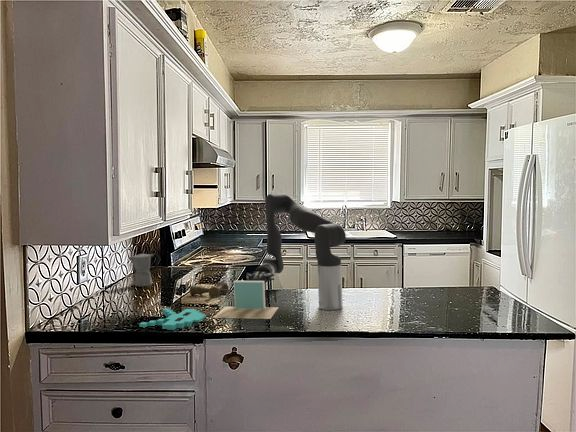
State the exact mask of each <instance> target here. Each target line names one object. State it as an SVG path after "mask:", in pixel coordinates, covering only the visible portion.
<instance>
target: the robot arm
mask: <svg viewBox="0 0 576 432" xmlns="http://www.w3.org/2000/svg"><path fill="white" fill-rule="evenodd" d="M264 201H265V202H264V204H265V206H264V209H265V210H264V211H265V221H266V222H265V223H266V232H267V234H266V236H267V237H266V253H267V255H270V256H272V257H264V258H263V259H262V263H261V264H260V265H259V266H257V267H256V269H255V271H254V272H253V273H248V272H247V273H246V281H264V283H265V284H266V283H268V282H271V281H274V280H275V274H281V273H282V272H283V270H284V266H285V265H284V260H283V259H284V258H283V255H282V240H283V239H282V234H281V232H280V230H279V228H278V226H277V224H276V220H275V214H282V213H283V214H289V220H290V222H291V223H292V225H294V226H296V227H297V228H298V229H300V230H302V231H305V232H308V233H314V247H315V258H316V260H317V287H318V293H317V294H318V308H319V309H321V310H324V311H336V310H342V309H343V281H342V259H341V257H340V256H339V255H335V254H333V253H332V251H331V250H332V249H331V248H336V247H339V246H342V245H343V244H344V243H345V241H346V237H347V235H346V232H345V229H344V228H343V227H342V226H341V225H340V224H338V223H337V222H334V221H331V220H330V219H329V220H328V219H327V218H325V217H323V216H321V215H319V214H318V213H316V212H314V211H313V210H311V209H310V208H308V207H306V206H304V205H302V204H301V203H299V202H297V201H296V200H294V198H292V197H291V196H290V195H288V194H287V193H284V192H277V193H269V194H268V195H267V196H266V197H265V200H264Z"/></svg>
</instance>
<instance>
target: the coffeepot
mask: <svg viewBox="0 0 576 432" xmlns="http://www.w3.org/2000/svg"><path fill="white" fill-rule="evenodd" d="M139 252H140V253H139V254H136V255H132V256H128V260H129V261H131V263H132V264H133V268H134V270H135V273H134V282H133V286H134V285H135V286H134V287H137V286H138V288H139V287H150V286H152V285H153V284H154V283H153V278H152V274H151V272H150V269H151V263H152V262H151V261H152V259H153V258H155V263H154V267H152V270H156V269H157V268H158V264H159V263H160V262H159V261H160V258H161V257H160V256H159V254H158V253H148V254H147V253H144V250H143V249H141V250H139Z"/></svg>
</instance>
